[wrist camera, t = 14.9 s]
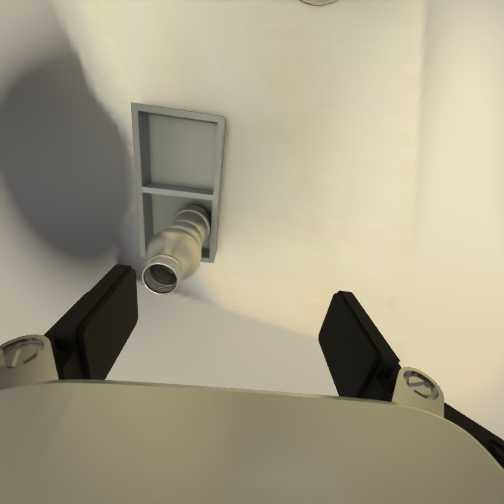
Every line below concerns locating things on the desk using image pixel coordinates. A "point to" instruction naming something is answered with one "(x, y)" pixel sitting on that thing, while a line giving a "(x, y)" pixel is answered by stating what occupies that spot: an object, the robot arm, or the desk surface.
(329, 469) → the robot arm
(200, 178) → the grey divided tray
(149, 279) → the plastic bottle
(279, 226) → the desk surface
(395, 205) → the desk surface
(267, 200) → the desk surface
